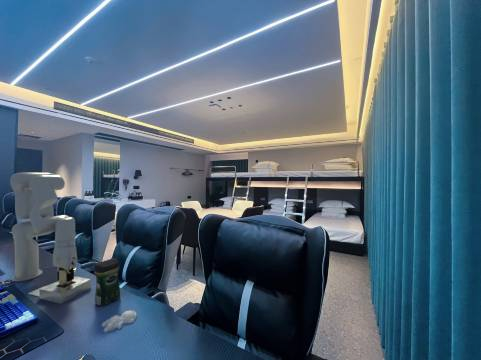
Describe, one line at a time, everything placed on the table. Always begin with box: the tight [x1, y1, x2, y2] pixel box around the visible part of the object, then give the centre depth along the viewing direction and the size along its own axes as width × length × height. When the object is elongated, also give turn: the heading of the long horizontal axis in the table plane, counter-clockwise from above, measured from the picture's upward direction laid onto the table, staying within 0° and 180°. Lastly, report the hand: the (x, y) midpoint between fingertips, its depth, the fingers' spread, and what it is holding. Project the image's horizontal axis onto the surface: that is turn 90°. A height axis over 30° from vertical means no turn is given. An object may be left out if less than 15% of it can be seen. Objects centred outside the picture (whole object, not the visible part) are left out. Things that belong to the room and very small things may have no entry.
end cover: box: [58, 267, 72, 288], centre depth 104 cm, size 5×5×10 cm
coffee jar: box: [93, 257, 121, 307], centre depth 97 cm, size 10×8×19 cm
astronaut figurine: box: [101, 309, 138, 333], centre depth 83 cm, size 9×12×3 cm
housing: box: [38, 275, 92, 305], centre depth 104 cm, size 14×14×4 cm
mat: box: [27, 284, 49, 298], centre depth 106 cm, size 8×8×1 cm
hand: (65, 279), depth 104 cm, fingers closed on end cover, 5 cm apart
